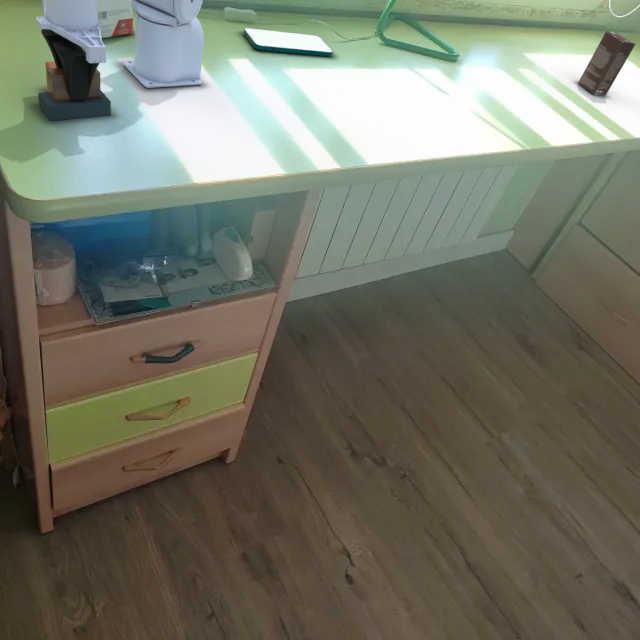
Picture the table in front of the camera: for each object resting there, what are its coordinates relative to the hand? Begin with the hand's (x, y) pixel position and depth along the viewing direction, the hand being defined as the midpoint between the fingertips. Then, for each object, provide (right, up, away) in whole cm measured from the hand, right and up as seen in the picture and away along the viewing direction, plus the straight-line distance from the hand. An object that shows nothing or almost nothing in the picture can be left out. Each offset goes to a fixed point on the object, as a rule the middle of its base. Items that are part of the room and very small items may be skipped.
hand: (75, 93), depth 78 cm
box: (+95, +24, +63) cm, 116 cm away
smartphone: (+26, +23, +37) cm, 50 cm away
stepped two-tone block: (-1, -2, +2) cm, 2 cm away
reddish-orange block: (-3, +1, +4) cm, 5 cm away
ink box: (-4, +18, +22) cm, 28 cm away
